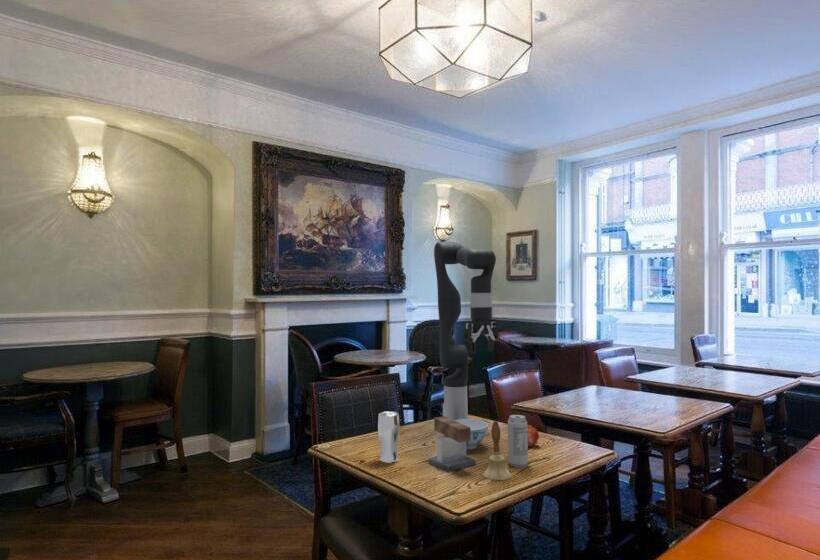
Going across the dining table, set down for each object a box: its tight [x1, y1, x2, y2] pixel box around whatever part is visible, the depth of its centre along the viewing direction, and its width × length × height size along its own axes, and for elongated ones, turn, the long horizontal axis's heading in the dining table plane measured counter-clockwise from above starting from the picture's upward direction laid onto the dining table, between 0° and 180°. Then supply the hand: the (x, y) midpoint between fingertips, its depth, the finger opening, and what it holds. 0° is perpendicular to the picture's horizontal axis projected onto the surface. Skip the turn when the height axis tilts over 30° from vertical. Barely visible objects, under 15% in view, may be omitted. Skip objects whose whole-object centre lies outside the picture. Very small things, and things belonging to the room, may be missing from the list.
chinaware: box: [454, 419, 489, 450], centre depth 180 cm, size 15×15×8 cm
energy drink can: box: [507, 414, 529, 468], centre depth 161 cm, size 6×6×15 cm
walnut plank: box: [433, 416, 470, 442], centre depth 162 cm, size 16×4×4 cm, turn 25°
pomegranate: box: [527, 424, 540, 448], centre depth 181 cm, size 7×7×10 cm
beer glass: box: [377, 411, 400, 463], centre depth 166 cm, size 7×7×15 cm
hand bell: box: [482, 420, 512, 481], centre depth 152 cm, size 8×8×16 cm
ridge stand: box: [428, 435, 477, 473], centre depth 162 cm, size 10×11×9 cm
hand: (481, 352), depth 180 cm, fingers open, 8 cm apart
